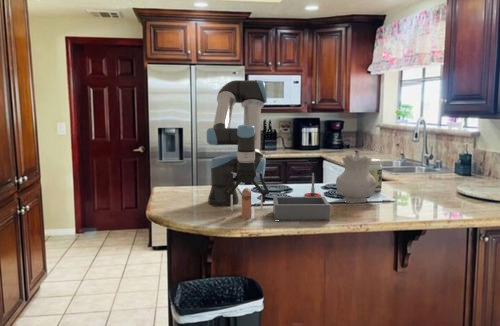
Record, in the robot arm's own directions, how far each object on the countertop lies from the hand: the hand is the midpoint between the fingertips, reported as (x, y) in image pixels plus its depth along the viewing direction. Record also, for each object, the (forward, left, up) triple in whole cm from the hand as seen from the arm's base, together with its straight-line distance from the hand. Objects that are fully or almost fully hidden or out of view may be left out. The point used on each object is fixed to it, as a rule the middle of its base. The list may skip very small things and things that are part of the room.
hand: (246, 209), depth 186 cm
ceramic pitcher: (+54, +29, -3) cm, 61 cm away
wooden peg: (0, 0, -3) cm, 3 cm away
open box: (+24, 0, -3) cm, 24 cm away
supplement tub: (+68, +53, -3) cm, 86 cm away
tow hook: (+34, +38, -3) cm, 51 cm away
